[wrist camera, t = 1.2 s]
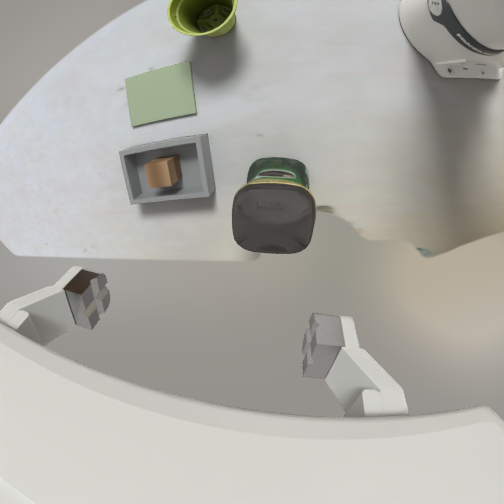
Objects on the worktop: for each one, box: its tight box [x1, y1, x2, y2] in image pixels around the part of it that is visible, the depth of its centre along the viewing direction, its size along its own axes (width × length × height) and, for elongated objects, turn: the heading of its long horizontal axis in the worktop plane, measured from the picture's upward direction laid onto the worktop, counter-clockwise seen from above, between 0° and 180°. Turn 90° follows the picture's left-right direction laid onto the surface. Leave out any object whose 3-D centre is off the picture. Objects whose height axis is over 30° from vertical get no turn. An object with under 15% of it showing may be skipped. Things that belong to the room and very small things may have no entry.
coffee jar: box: [232, 157, 316, 254], centre depth 37 cm, size 10×8×19 cm
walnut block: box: [144, 155, 183, 189], centre depth 44 cm, size 4×4×5 cm
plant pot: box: [167, 0, 237, 37], centre depth 29 cm, size 9×9×9 cm
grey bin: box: [119, 134, 215, 205], centre depth 44 cm, size 15×10×4 cm, turn 96°
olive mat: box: [125, 61, 197, 127], centre depth 40 cm, size 12×9×1 cm
